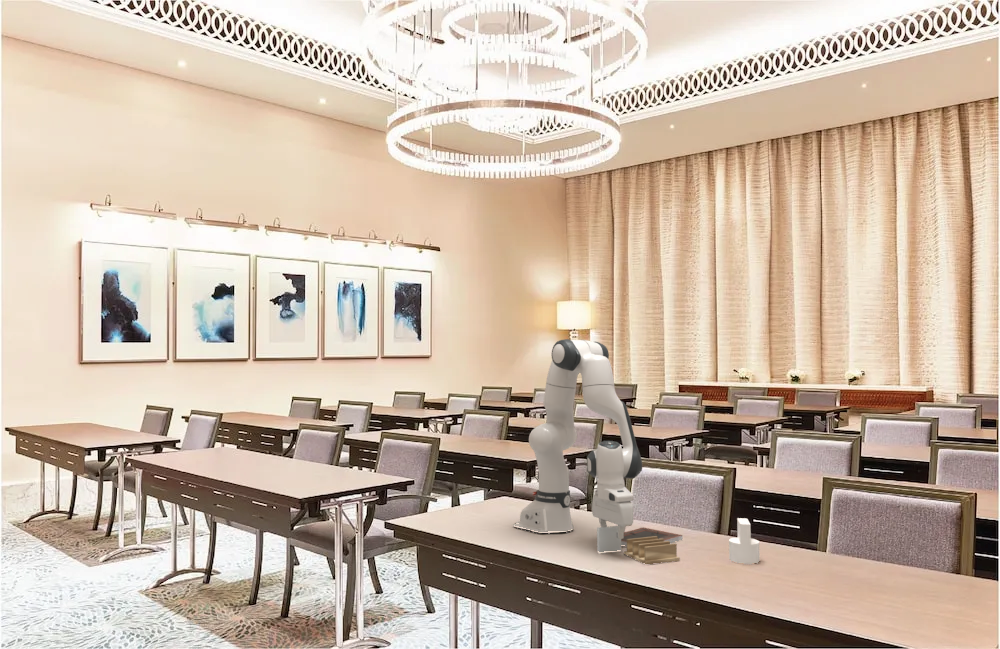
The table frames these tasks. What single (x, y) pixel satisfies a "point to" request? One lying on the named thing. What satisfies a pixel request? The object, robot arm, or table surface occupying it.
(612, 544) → the grey block
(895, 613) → the table surface
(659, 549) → the rack
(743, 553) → the cylinder with rectangular tab
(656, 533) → the picture frame
